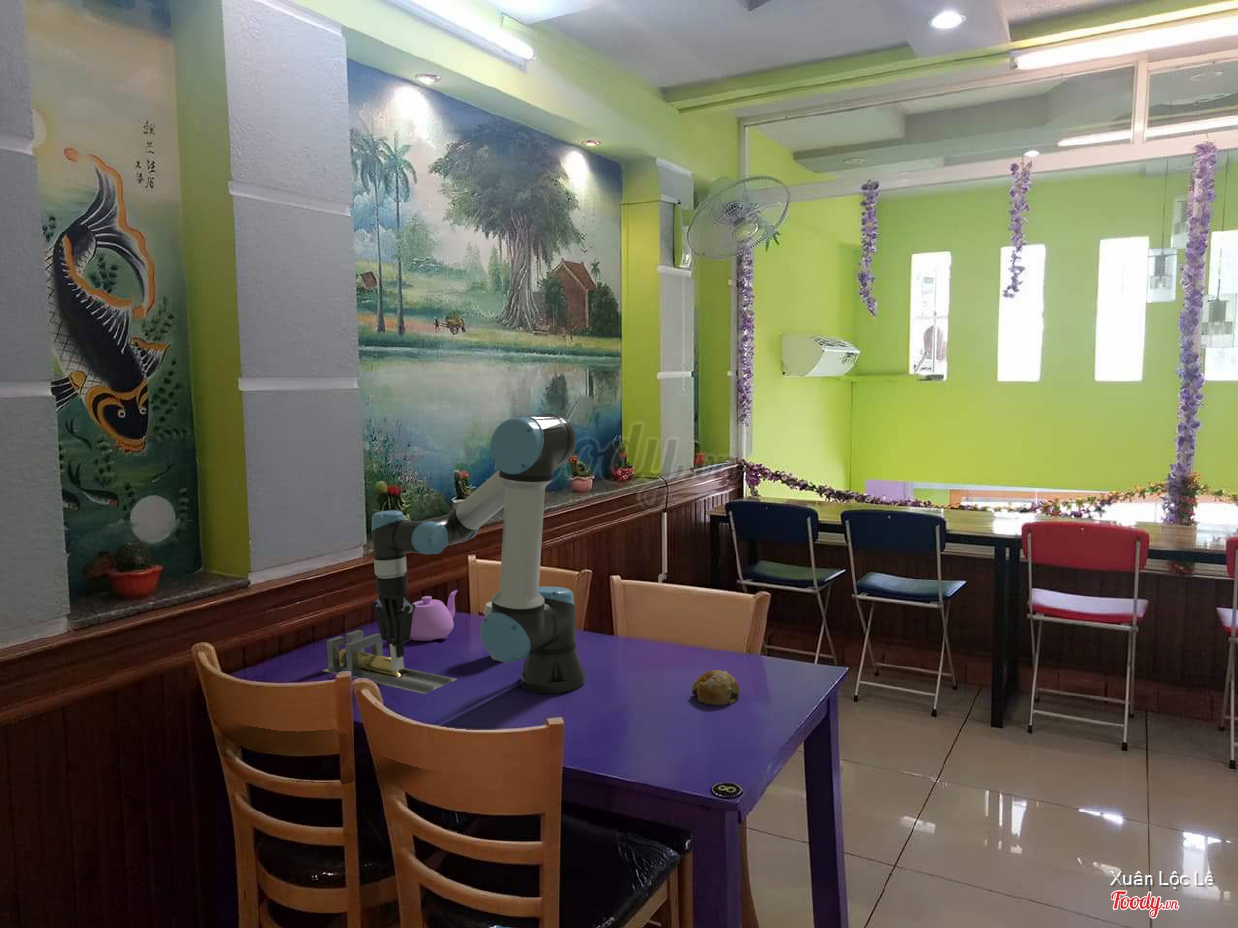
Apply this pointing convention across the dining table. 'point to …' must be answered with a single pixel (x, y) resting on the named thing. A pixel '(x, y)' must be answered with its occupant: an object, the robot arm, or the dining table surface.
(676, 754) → the dining table surface
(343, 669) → the collar base
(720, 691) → the bread roll
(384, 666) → the tube
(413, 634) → the teapot
